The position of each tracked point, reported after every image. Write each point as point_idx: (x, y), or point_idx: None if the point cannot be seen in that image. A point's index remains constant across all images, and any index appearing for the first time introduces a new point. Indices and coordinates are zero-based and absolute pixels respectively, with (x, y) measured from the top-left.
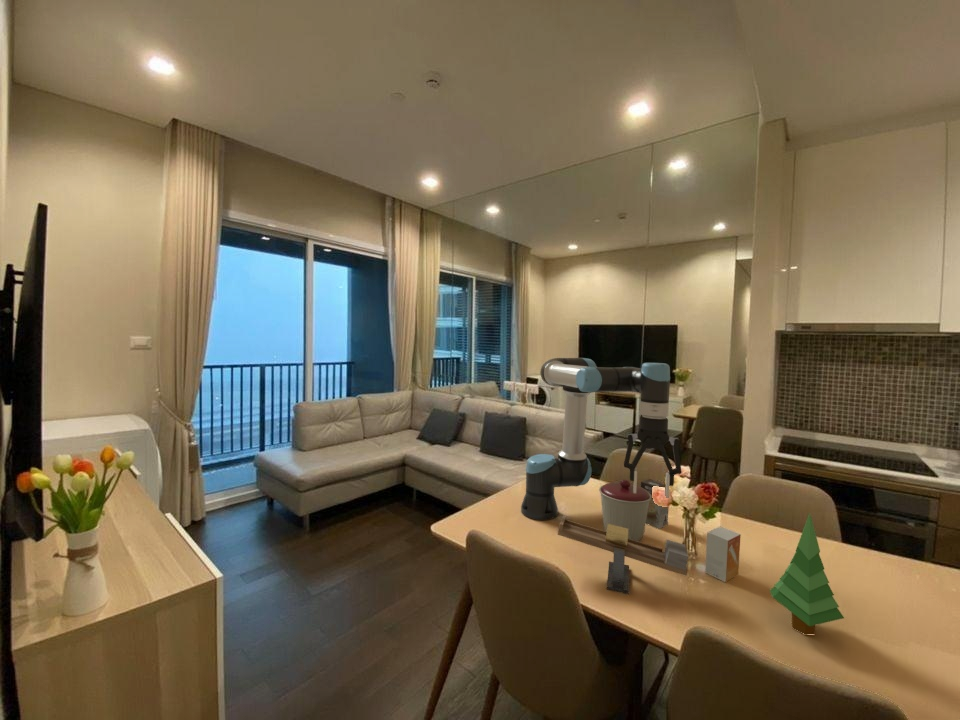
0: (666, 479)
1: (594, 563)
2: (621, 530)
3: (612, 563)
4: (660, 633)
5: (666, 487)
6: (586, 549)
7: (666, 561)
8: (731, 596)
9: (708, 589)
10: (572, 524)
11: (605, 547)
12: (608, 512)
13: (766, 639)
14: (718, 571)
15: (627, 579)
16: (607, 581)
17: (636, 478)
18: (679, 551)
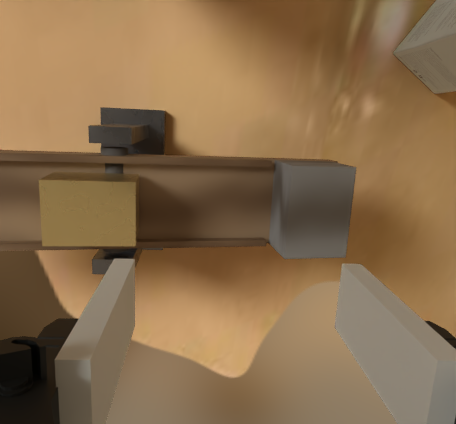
0: (396, 392)
1: (56, 117)
2: (106, 217)
3: (112, 117)
4: (225, 358)
5: (364, 370)
6: (16, 26)
7: (271, 242)
8: (424, 160)
9: (374, 146)
10: None
11: None
12: None
13: (435, 300)
14: (432, 78)
15: None
16: None
17: (108, 403)
18: (322, 238)
